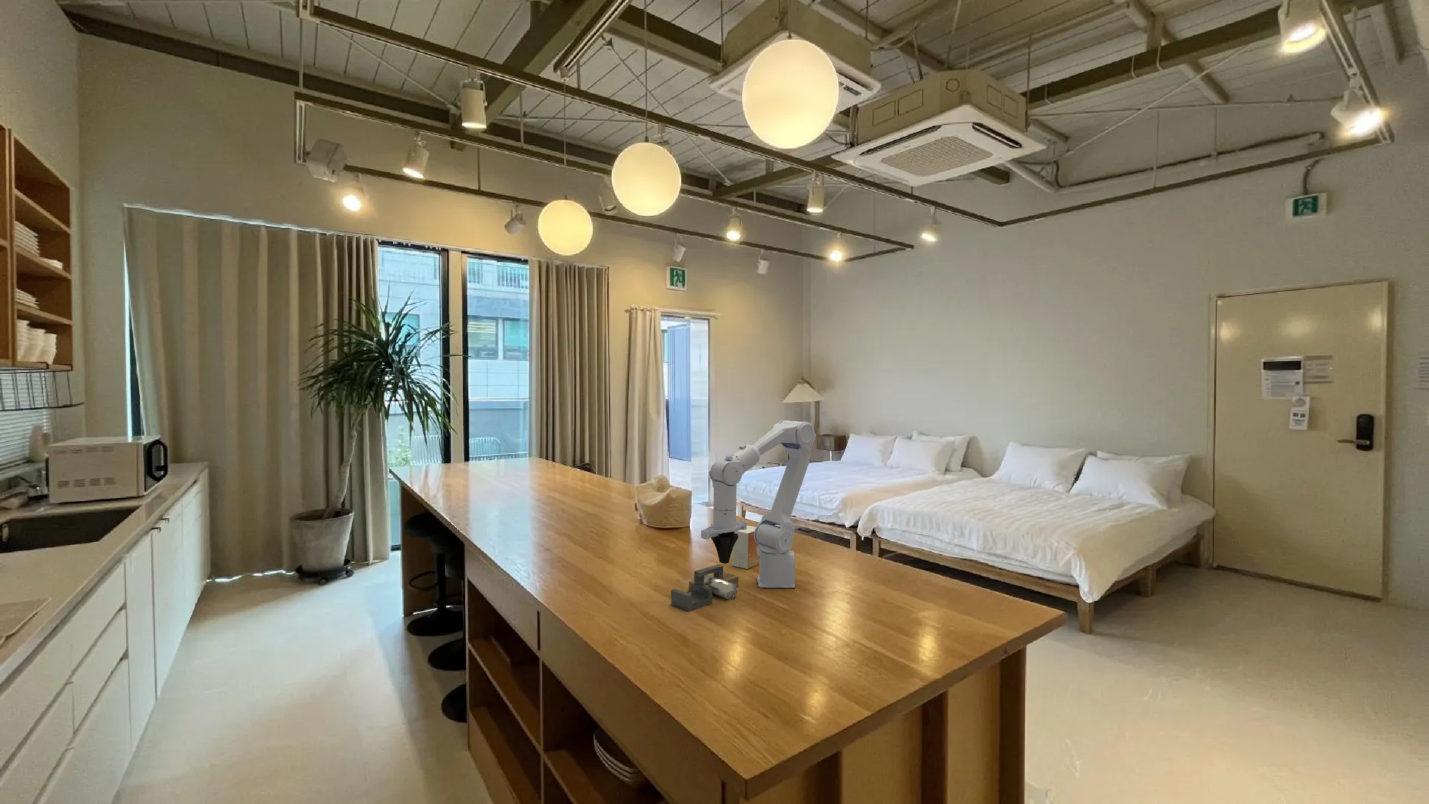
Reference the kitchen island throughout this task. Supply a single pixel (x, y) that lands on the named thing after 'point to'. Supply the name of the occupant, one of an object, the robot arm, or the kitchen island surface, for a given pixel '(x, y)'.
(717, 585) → the axle
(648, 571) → the kitchen island surface
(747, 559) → the small box
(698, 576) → the bearing block
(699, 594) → the cradle
